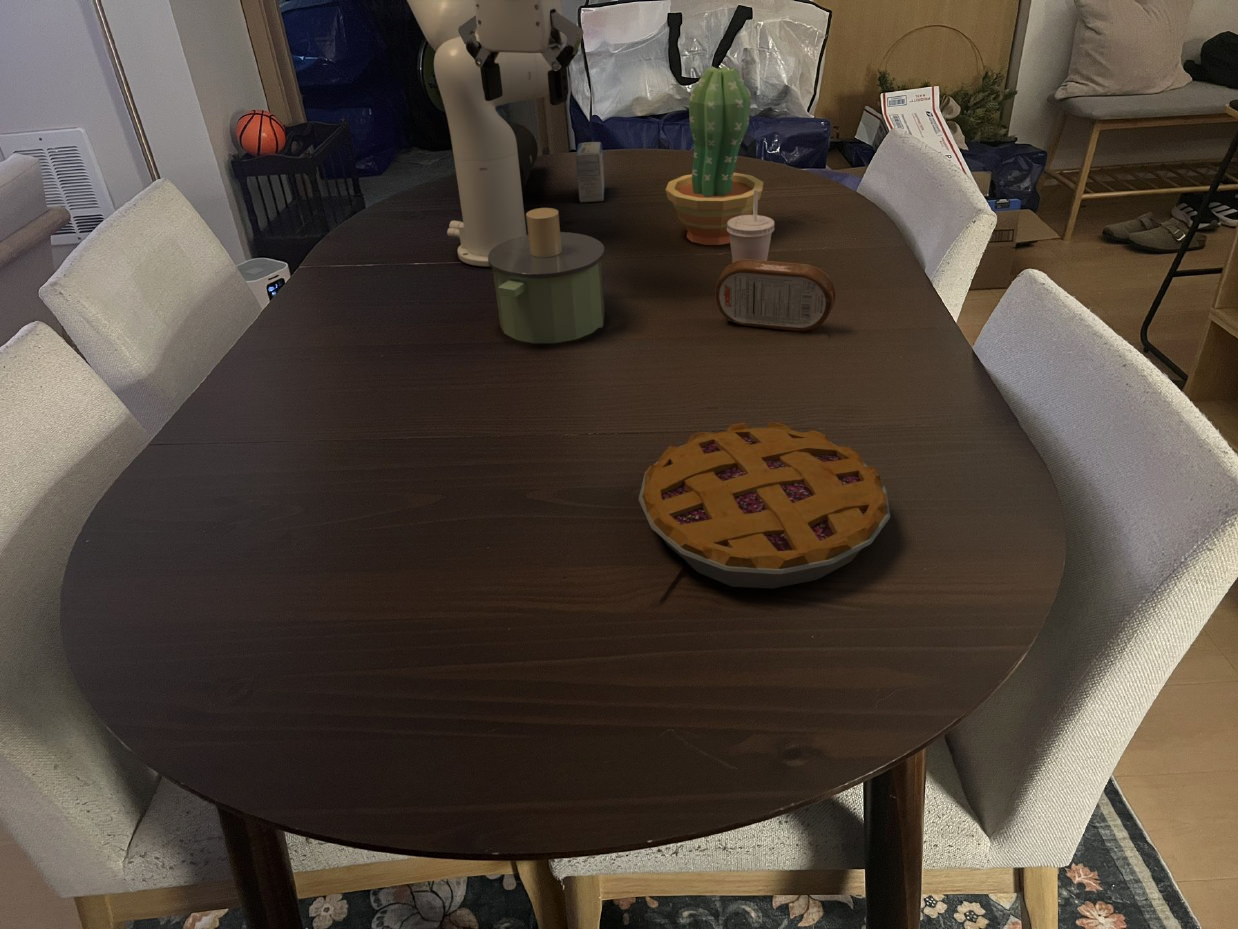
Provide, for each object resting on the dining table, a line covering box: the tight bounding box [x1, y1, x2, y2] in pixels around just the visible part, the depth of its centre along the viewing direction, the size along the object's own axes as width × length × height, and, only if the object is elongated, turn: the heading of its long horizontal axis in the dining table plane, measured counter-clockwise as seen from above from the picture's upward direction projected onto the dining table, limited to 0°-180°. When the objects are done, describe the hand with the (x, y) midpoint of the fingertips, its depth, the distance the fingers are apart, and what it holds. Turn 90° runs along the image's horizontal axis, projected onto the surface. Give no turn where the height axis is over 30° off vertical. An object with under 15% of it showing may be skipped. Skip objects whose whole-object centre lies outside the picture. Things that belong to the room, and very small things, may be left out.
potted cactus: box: [665, 65, 764, 246], centre depth 141 cm, size 16×15×25 cm
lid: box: [488, 207, 605, 278], centre depth 116 cm, size 15×15×6 cm
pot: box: [492, 260, 605, 344], centre depth 120 cm, size 14×19×10 cm
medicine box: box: [575, 141, 605, 203], centre depth 166 cm, size 8×4×9 cm, turn 179°
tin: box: [714, 259, 836, 332], centre depth 116 cm, size 15×3×8 cm, turn 71°
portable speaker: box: [507, 122, 539, 194], centre depth 171 cm, size 26×10×10 cm, turn 178°
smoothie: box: [727, 189, 775, 263], centre depth 125 cm, size 6×6×14 cm
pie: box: [638, 421, 891, 589], centre depth 83 cm, size 22×22×5 cm
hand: (526, 100), depth 116 cm, fingers open, 9 cm apart
